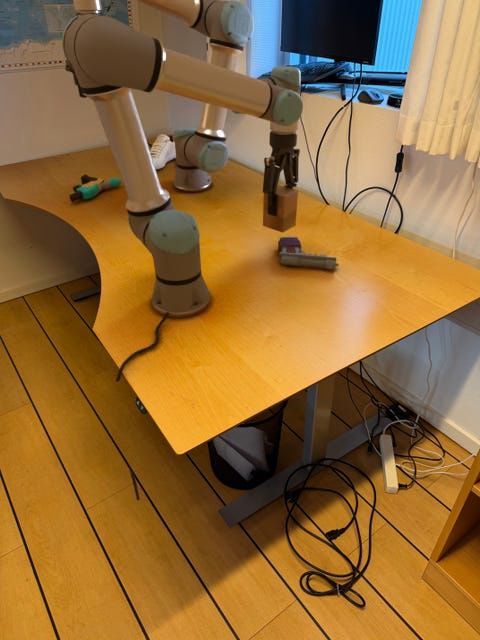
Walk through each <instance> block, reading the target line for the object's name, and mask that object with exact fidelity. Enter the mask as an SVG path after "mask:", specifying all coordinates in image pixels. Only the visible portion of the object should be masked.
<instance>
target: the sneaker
mask: <svg viewBox="0 0 480 640" xmlns="http://www.w3.org/2000/svg"><path fill="white" fill-rule="evenodd" d="M152 145H153V146H151V148H149V150H150V153H151V156H152V159H153V163H154V166H155V169H156V170H160V169H162V168H164V167H165V166H166V164H167V163H168V162H170V161H172V160H174V158H175V159H176V151H175V141H174V134H164V133H161V134H158V135H157V137H156V139H155V140H154V142H153V143H152Z"/></svg>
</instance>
